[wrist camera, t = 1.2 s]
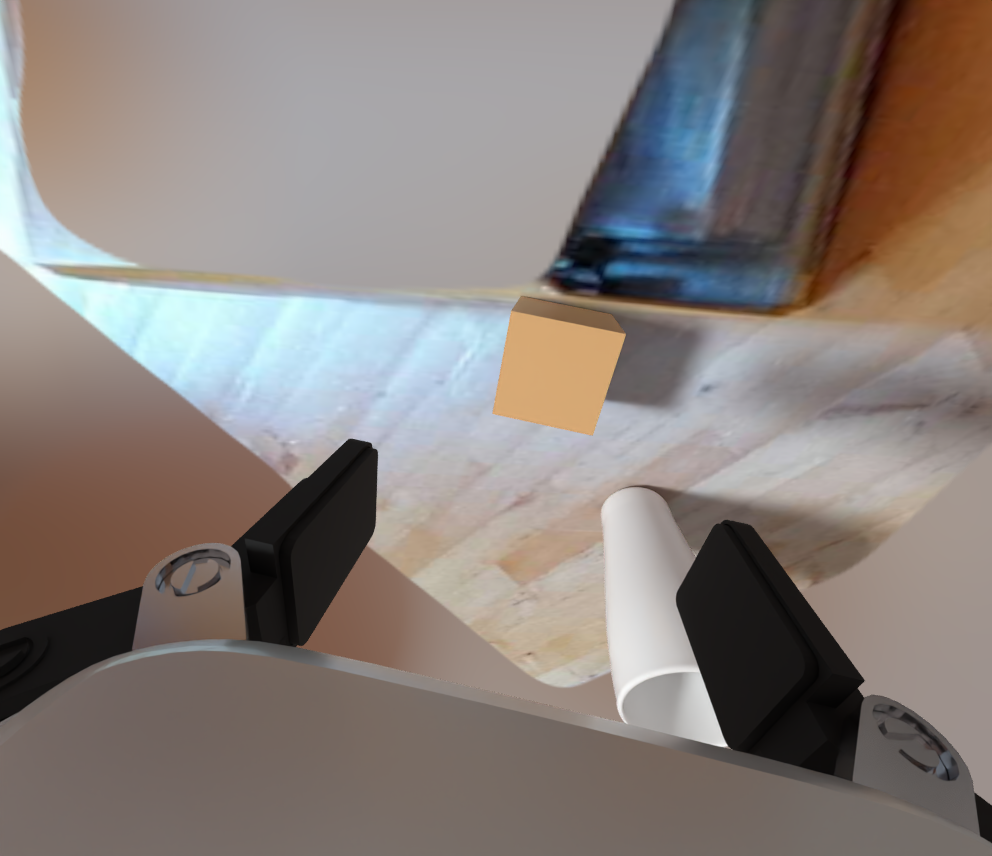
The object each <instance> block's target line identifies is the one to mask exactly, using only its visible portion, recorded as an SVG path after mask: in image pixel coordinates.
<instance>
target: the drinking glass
mask: <svg viewBox="0 0 992 856" xmlns="http://www.w3.org/2000/svg"><path fill="white" fill-rule="evenodd" d="M601 524H602V531H603V553H604V584H605V617H606V633H607V644H608V653H609V661H610V668H611V674H612V680H613V686H614V692H615V697H616V702H617V709H618V712H619V714H620V717H621V718H622V720H623V721H624V722H625V724H630V725H634V726H638V727H642V728H646V729H650V730H654V731H658V732H662V733H666V734H670V735H674V736H679V737H683V738H687V739H691V740H695V741H699V742H703V743H707V744H711V745H715V746H719V747H726V746H728V745H727V744H726V742H725V740H724V737H723V735H722V732H721V729H720V726H719V723H718V721H717V718H716V715H715V712H714V709H713V707H712V704H711V701H710V698H709V695H708V693H707V690H706V687H705V684H704V681H703V679H702V676H701V673H700V670H699V667H698V665H697V662H696V659H695V656H694V653H693V651H692V648H691V645H690V642H689V639H688V637H687V634H686V631H685V628H684V625H683V623H682V620H681V617H680V614H679V611H678V609H677V605H676V593H677V591H678V589H679V587H680V585H681V584H682V582H683V580H684V578H685V577H686V575H687V573H688V571H689V569H690V568H691V566H692V564H693V562H694V561H695V559H696V557H695V555H694V553H693V552H692V550H691V548H690V546H689V545H688V543H687V541H686V539H685V538H684V536H683V534H682V532H681V530H680V529H679V527H678V525H677V523H676V521H675V520H674V518H673V516H672V513H671V511H670V508H669V506H668V504H667V503H666V501H665V500H664V499H663V498H662V497H661V496H660V495H659V494H658V493H656V492H654V491H652V490H650V489H647V488H642V487H629V488H624V489H621V490H619V491H617V492H615V493H613V494H612V495H611V496H609V497H608V498H607V500H606V501H605V502H604V504H603V506H602V509H601Z"/></svg>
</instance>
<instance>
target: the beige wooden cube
mask: <svg viewBox="0 0 992 856" xmlns="http://www.w3.org/2000/svg"><path fill="white" fill-rule="evenodd" d="M625 336H626V333H625V332H624V331H623V329H622V328H621V327H620V325H619V324H618V323H617V321H616V320H615V319H614V317H613V316H612V315H611V314H608V313H603V312H598V311H593V310H588V309H583V308H578V307H573V306H568V305H563V304H558V303H553V302H548V301H543V300H538V299H533V298H528V297H523V296H521V297H520V299H519V300H518V302H517V303H516V305H515V306H514V308H513V309H512V311H511V315H510V321H509V326H508V332H507V337H506V343H505V348H504V354H503V359H502V364H501V370H500V375H499V381H498V386H497V392H496V397H495V403H494V408H493V414H496V415H500V416H505V417H510V418H514V419H519V420H523V421H528V422H533V423H537V424H542V425H546V426H551V427H556V428H560V429H565V430H569V431H574V432H578V433H583V434H588V435H592V436H593V433H594V430H595V427H596V424H597V421H598V418H599V415H600V412H601V409H602V406H603V403H604V400H605V397H606V394H607V391H608V388H609V385H610V382H611V379H612V376H613V372H614V369H615V366H616V363H617V360H618V357H619V354H620V351H621V348H622V345H623V342H624V339H625Z"/></svg>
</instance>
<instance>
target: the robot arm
mask: <svg viewBox="0 0 992 856" xmlns="http://www.w3.org/2000/svg"><path fill="white" fill-rule="evenodd" d="M377 466H378V451H377V450H376V449H373V448H372V444H371V443H370V442H365V441H360V440H356V439H348V440H347V441H346V442H345V443H344V444H343V445H342V446H341V447H340V448H339V449H338V450H337V451H336V452H335V453H333V454H332V455H331V456H330V457H329V458H328V459H327V460H326V461H325V462H324V463H323V464H322V465H321V466H320V467H319V468H318V469H317V470H316V471H315V472H314V473H313V474H311V475H310V476H309V477H308V478H305V479H303V480H302V481H300V482H299V483H298V484H297V485H296V486H295V487H294V488H293V489H292V490H291V491H290V492H288V494H286V495H285V496H284V497H283V498H282V499H281V500H280V501H279V502H278V503H277V504H276V505H275V506H274V507H273V508H271V509H270V510H269V511H268V512H267V513H266V514H265V515H264V516H263V517H262V518H261V519H260V520H259V521H258V522H257V523H255V525H253V526H252V527H251V528H250V529H249V530H248V531H247V532H246V533H245V534H244V535H243V536H242V537H241V538H239V539H238V540H237V541H236V542H235V543H234V544H233V545H232V546H228V545H224V544H217V543H207V544H200V545H195V546H191V547H188V548H185V549H182V550H180V551H178V552H176V553H174V554H172V555H170V556H168V557H167V558H165V559H164V560H162V561H161V562H160V563H158V564H157V565H156V566H155V567H154V568H153V569H152V570H151V571H150V572H149V574H148V575H147V577H146V580H145V582H144V585H143V586H142V587H139V588H136V589H133V590H129V591H126V592H123V593H119V594H116V595H112V596H110V597H106V598H103V599H99V600H96V601H93V602H90V603H86V604H83V605H80V606H76V607H74V608H70V609H67V610H64V611H60V612H57V613H54V614H50V615H47V616H44V617H41V618H37V619H34V620H31V621H27V622H24V623H21V624H18V625H15V626H11V627H8V628H5V629H2V630H0V856H992V805H990V804H989V803H987V802H986V801H985V800H984V799H982V798H981V797H980V796H978V795H977V794H976V793H974V788H973V781H972V778H971V775H970V772H969V770H968V767H967V766H966V764H965V762H964V761H963V759H962V758H961V756H960V755H959V753H958V752H957V751H956V750H955V749H954V748H953V746H952V745H951V744H950V743H949V742H948V740H947V739H946V738H945V737H944V736H943V735H942V734H941V733H939V732H938V731H937V730H936V729H935V728H934V727H933V726H932V725H931V724H930V723H929V722H927V721H926V720H925V719H923V718H922V717H921V716H919V715H918V714H917V713H915V712H914V711H912V710H911V709H909V708H907V707H905V706H904V705H902V704H900V703H898V702H896V701H894V700H891V699H889V698H887V697H884V696H878V695H870V696H867V697H865V698H864V697H863V695H862V694H861V693H860V691H859V690H858V687H859V686H860V685H861V684H862V683H863V682H864V679H863V677H862V676H861V675H860V673H859V672H858V670H857V669H856V668H855V667H854V665H853V664H852V662H851V661H850V660H849V658H848V657H847V655H846V654H845V653H844V651H843V650H842V649H841V647H840V646H839V644H838V643H837V642H836V640H835V639H834V638H833V636H832V635H831V634H830V632H829V631H828V629H827V628H826V627H825V625H824V624H823V623H822V621H821V620H820V618H819V617H818V616H817V614H816V613H815V612H814V610H813V609H812V608H811V606H810V605H809V604H808V602H807V601H806V599H805V598H804V597H803V595H802V594H801V592H800V591H799V590H798V588H797V587H796V586H795V584H794V583H793V582H792V580H791V579H790V577H789V576H788V575H787V573H786V572H785V571H784V569H783V568H782V566H781V565H780V564H779V562H778V561H777V560H776V558H775V557H774V556H773V554H772V553H771V551H770V550H769V549H768V547H767V546H766V545H765V543H764V542H763V540H762V539H761V538H760V536H759V535H758V534H757V532H756V531H755V530H754V528H753V527H752V526H751V525H748V524H744V523H739V522H735V521H730V520H724V521H723V522H721V524H716V525H715V526H714V527H713V528H712V530H711V532H710V534H709V536H708V537H707V539H706V541H705V543H704V544H703V546H702V548H701V550H700V552H699V553H698V555H697V557H696V559H695V561H694V562H693V564H692V566H691V568H690V569H689V571H688V573H687V575H686V577H685V578H684V580H683V582H682V584H681V585H680V587H679V589H678V591H677V593H676V605H677V609H678V611H679V614H680V617H681V620H682V623H683V625H684V628H685V631H686V634H687V637H688V639H689V642H690V645H691V648H692V651H693V653H694V656H695V659H696V662H697V665H698V667H699V670H700V673H701V676H702V679H703V681H704V684H705V687H706V690H707V693H708V695H709V698H710V701H711V704H712V707H713V709H714V712H715V715H716V718H717V721H718V723H719V726H720V729H721V732H722V735H723V737H724V740H725V742H726V744H727V745H728V747H730V748H731V749H733V750H731V749H727V748H723V747H719V746H715V745H711V744H707V743H703V742H699V741H695V740H691V739H687V738H683V737H679V736H674V735H670V734H666V733H662V732H658V731H654V730H650V729H646V728H642V727H638V726H634V725H630V724H625V723H621V722H617V721H613V720H609V719H605V718H601V717H596V716H592V715H588V714H584V713H580V712H575V711H571V710H567V709H563V708H559V707H554V706H551V705H546V704H542V703H538V702H533V701H530V700H525V699H521V698H517V697H512V696H509V695H504V694H500V693H495V692H492V691H488V690H483V689H479V688H475V687H470V686H466V685H462V684H458V683H453V682H449V681H445V680H441V679H436V678H432V677H427V676H423V675H419V674H415V673H411V672H406V671H402V670H397V669H393V668H389V667H385V666H380V665H376V664H372V663H367V662H363V661H358V660H353V659H349V658H344V657H339V656H335V655H330V654H325V653H321V652H315V651H311V650H307V649H302V648H297V647H296V646H297V645H299V646H303V645H304V644H305V643H306V642H307V641H308V639H309V638H310V636H311V634H312V633H313V631H314V630H315V628H316V626H317V624H318V623H319V621H320V620H321V618H322V617H323V615H324V613H325V612H326V610H327V608H328V607H329V605H330V603H331V602H332V600H333V599H334V597H335V595H336V594H337V592H338V590H339V589H340V587H341V585H342V584H343V582H344V581H345V579H346V577H347V576H348V574H349V573H350V571H351V569H352V568H353V566H354V564H355V563H356V561H357V559H358V558H359V556H360V555H361V553H362V551H363V549H364V548H365V547H366V545H367V543H368V542H369V540H370V538H371V537H372V535H373V532H374V529H375V524H376V497H377Z"/></svg>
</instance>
